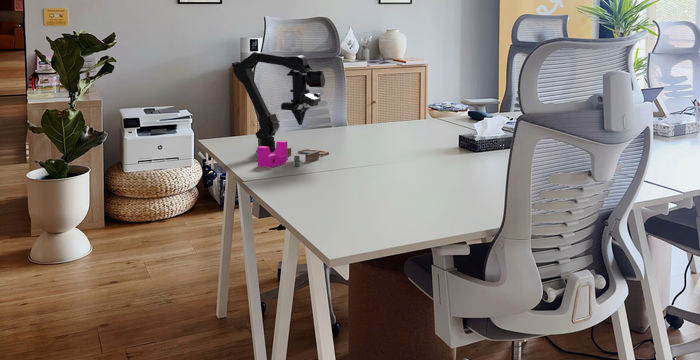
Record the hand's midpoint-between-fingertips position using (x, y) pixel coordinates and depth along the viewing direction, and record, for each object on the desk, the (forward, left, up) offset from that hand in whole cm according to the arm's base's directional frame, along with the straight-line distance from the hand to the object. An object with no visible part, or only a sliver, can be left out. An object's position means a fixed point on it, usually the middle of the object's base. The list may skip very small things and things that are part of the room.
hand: (300, 124), depth 302 cm
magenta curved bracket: (+2, -20, -12) cm, 24 cm away
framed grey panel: (+5, -9, -12) cm, 16 cm away
